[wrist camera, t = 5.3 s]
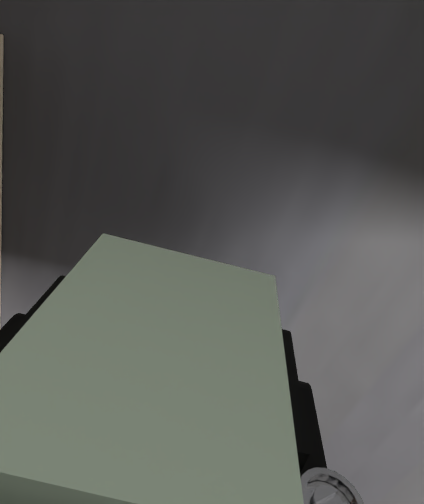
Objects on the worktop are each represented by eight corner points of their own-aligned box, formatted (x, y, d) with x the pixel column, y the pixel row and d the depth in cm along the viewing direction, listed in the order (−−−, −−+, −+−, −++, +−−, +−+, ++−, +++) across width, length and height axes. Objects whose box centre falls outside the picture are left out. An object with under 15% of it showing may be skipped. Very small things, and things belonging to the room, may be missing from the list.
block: (275, 275, 11) (309, 543, 5) (231, 401, 13) (216, 697, 7) (102, 233, 11) (-86, 452, 5) (86, 366, 13) (-59, 638, 7)
